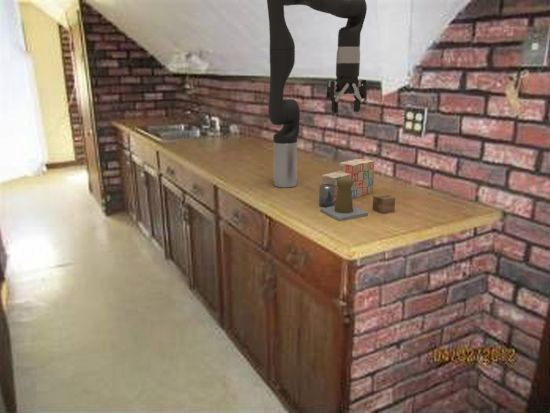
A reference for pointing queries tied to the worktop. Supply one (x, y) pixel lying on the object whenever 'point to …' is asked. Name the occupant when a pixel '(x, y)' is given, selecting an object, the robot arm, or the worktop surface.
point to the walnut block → (383, 203)
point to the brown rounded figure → (344, 195)
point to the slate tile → (343, 216)
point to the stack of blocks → (353, 176)
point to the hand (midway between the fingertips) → (345, 112)
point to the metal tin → (326, 195)
